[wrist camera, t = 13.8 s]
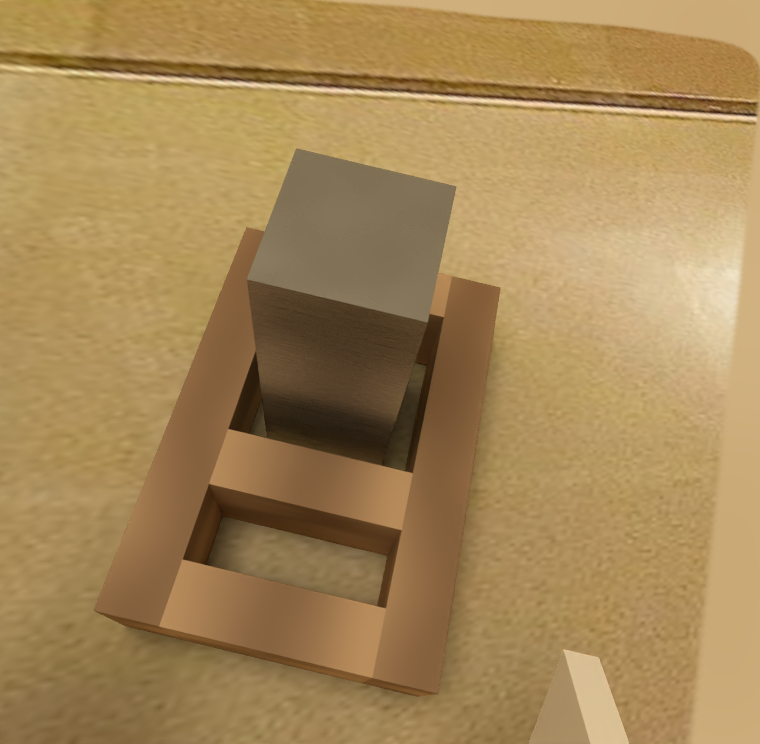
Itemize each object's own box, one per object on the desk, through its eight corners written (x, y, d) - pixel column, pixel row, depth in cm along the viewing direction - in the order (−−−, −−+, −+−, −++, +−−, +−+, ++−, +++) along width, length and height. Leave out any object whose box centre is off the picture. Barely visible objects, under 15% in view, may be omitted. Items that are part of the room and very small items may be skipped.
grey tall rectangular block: (268, 451, 27) (246, 279, 16) (298, 356, 29) (296, 148, 18) (377, 477, 27) (427, 322, 16) (399, 380, 29) (456, 186, 18)
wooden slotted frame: (125, 625, 23) (93, 610, 20) (253, 284, 30) (246, 227, 27) (417, 696, 23) (438, 693, 20) (477, 337, 30) (500, 287, 26)
